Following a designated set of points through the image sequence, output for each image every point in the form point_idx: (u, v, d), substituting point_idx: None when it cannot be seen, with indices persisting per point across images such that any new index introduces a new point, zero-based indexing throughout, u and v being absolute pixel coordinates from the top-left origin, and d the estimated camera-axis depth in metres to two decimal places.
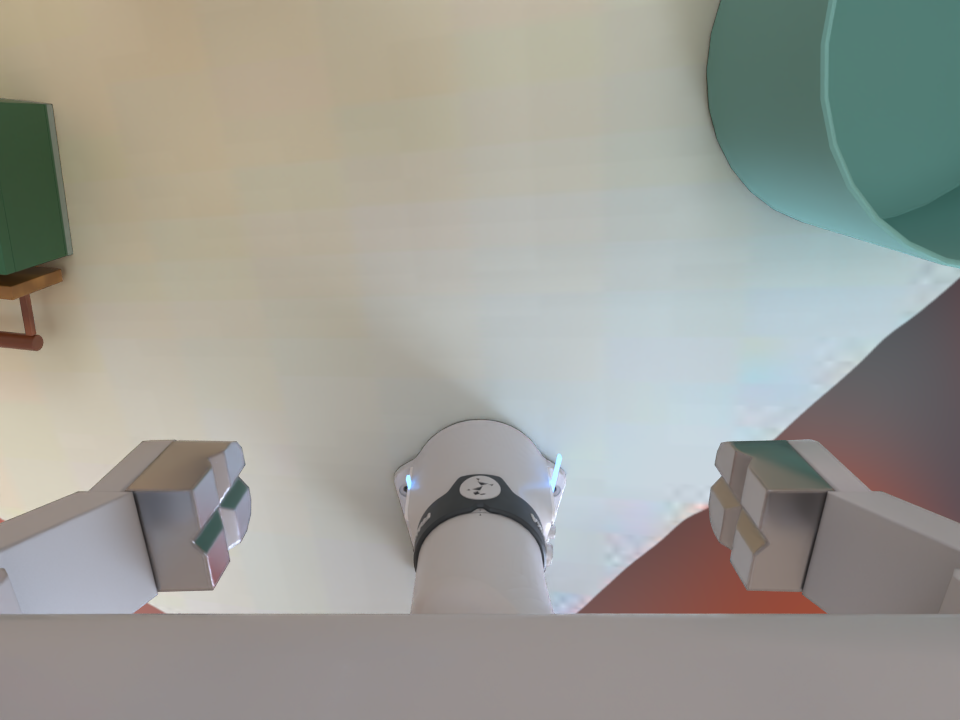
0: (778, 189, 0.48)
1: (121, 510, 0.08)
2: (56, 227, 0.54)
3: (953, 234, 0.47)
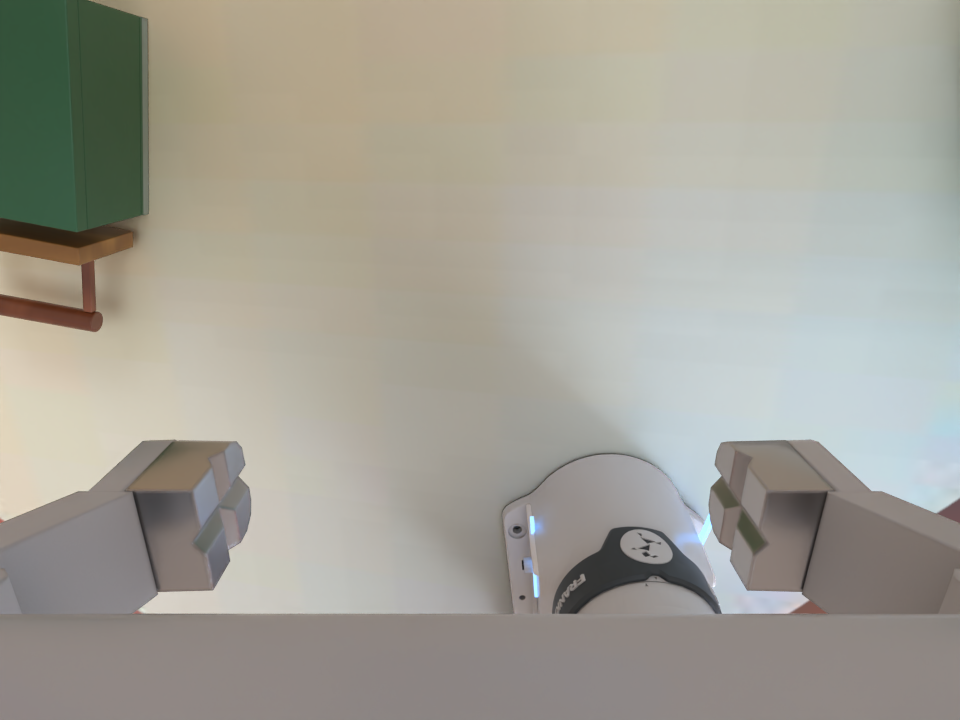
0: None
1: (121, 510, 0.08)
2: (135, 177, 0.43)
3: None
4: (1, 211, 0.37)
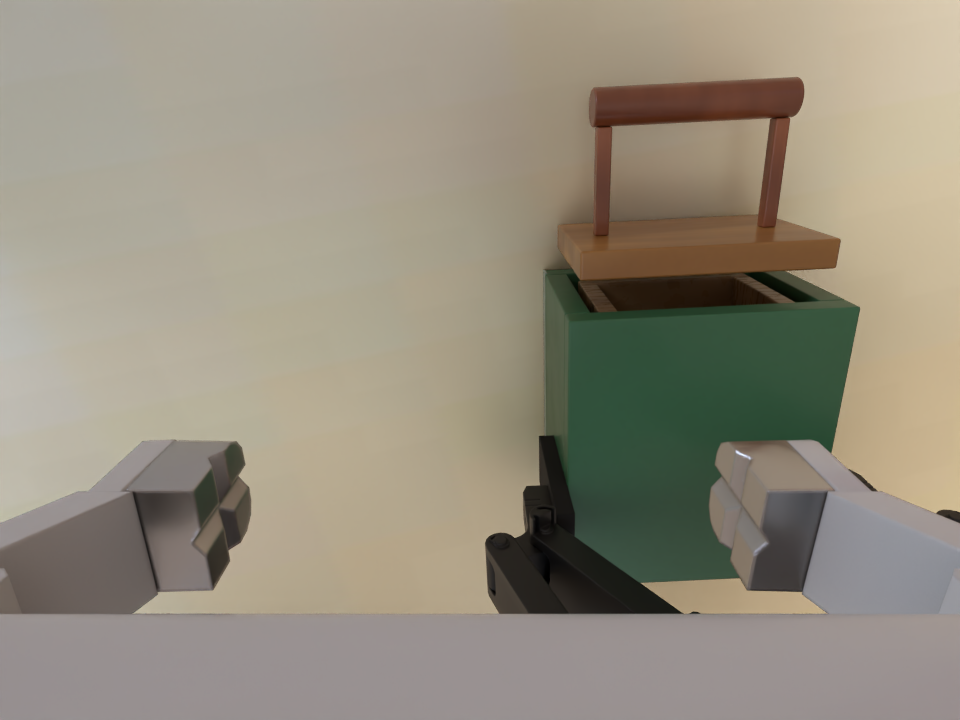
0: None
1: (121, 510, 0.08)
2: (547, 331, 0.31)
3: None
4: (684, 325, 0.23)
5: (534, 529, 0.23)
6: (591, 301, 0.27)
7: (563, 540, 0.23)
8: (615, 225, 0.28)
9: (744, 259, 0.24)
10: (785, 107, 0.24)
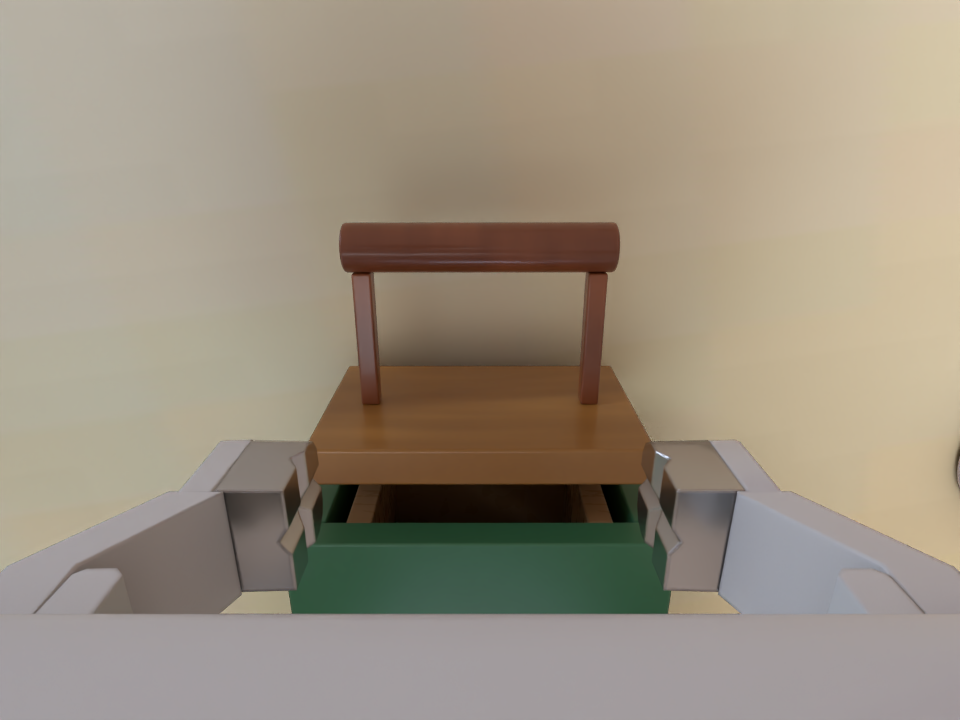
0: None
1: (213, 510, 0.08)
2: None
3: None
4: (439, 555, 0.17)
5: None
6: (359, 484, 0.21)
7: None
8: (412, 376, 0.22)
9: (527, 469, 0.17)
10: (596, 263, 0.18)
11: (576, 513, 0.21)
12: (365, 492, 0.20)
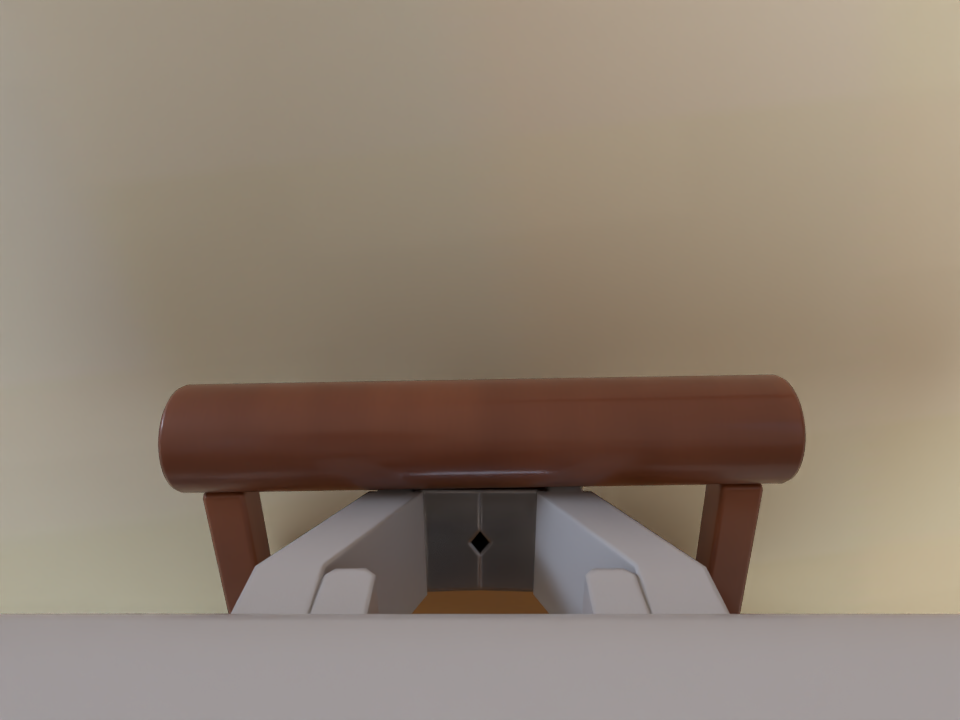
0: None
1: (415, 510, 0.08)
2: None
3: None
4: None
5: None
6: None
7: None
8: None
9: None
10: (747, 477, 0.08)
11: None
12: None
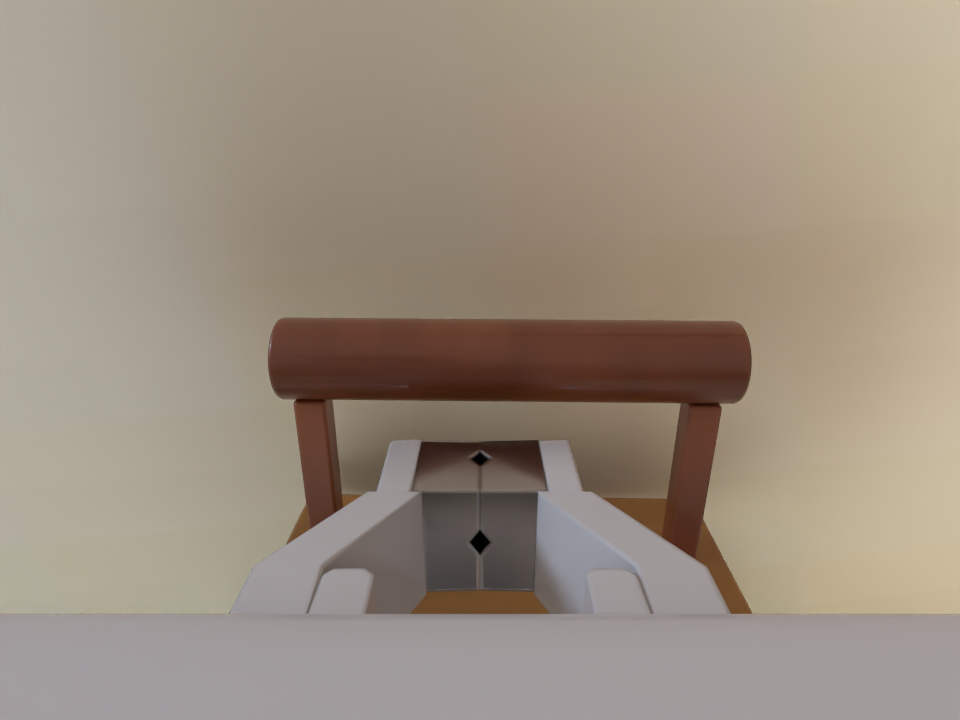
0: None
1: (413, 510, 0.08)
2: None
3: None
4: None
5: None
6: None
7: None
8: None
9: None
10: (707, 395, 0.10)
11: None
12: None
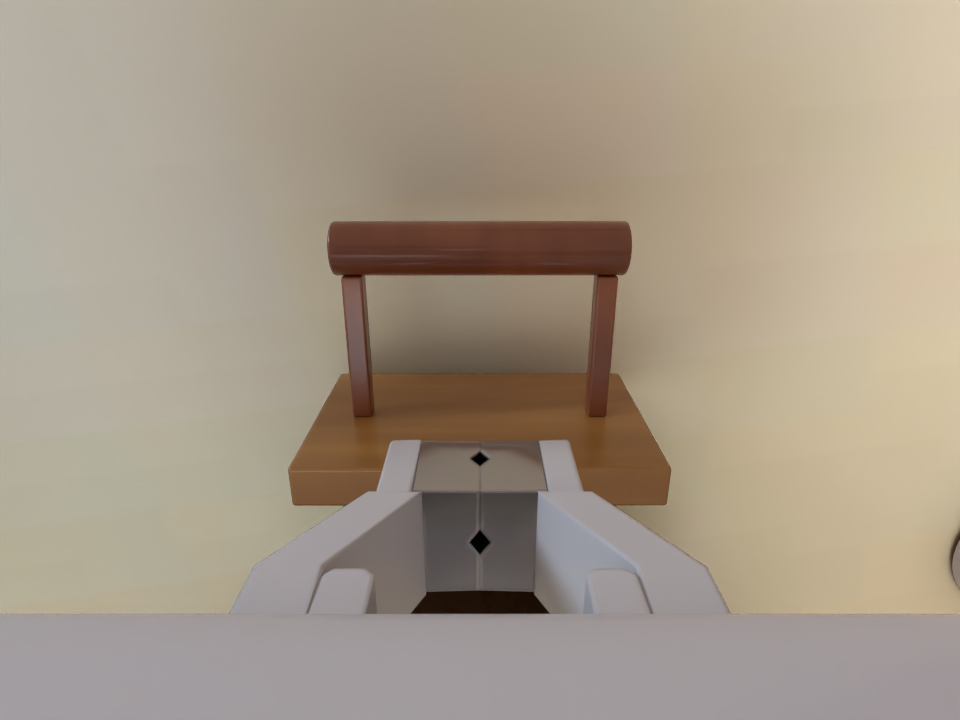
0: None
1: (413, 510, 0.08)
2: None
3: None
4: None
5: None
6: None
7: None
8: (407, 385, 0.21)
9: None
10: (605, 266, 0.16)
11: None
12: None
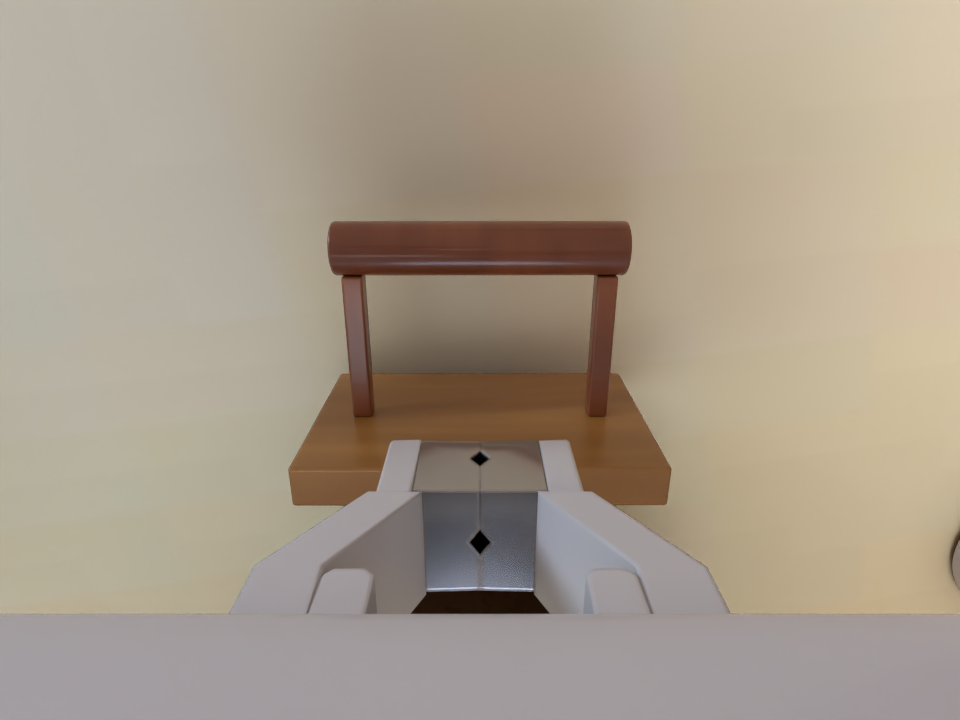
0: None
1: (413, 510, 0.08)
2: None
3: None
4: None
5: None
6: None
7: None
8: (407, 385, 0.21)
9: None
10: (605, 265, 0.16)
11: None
12: None
